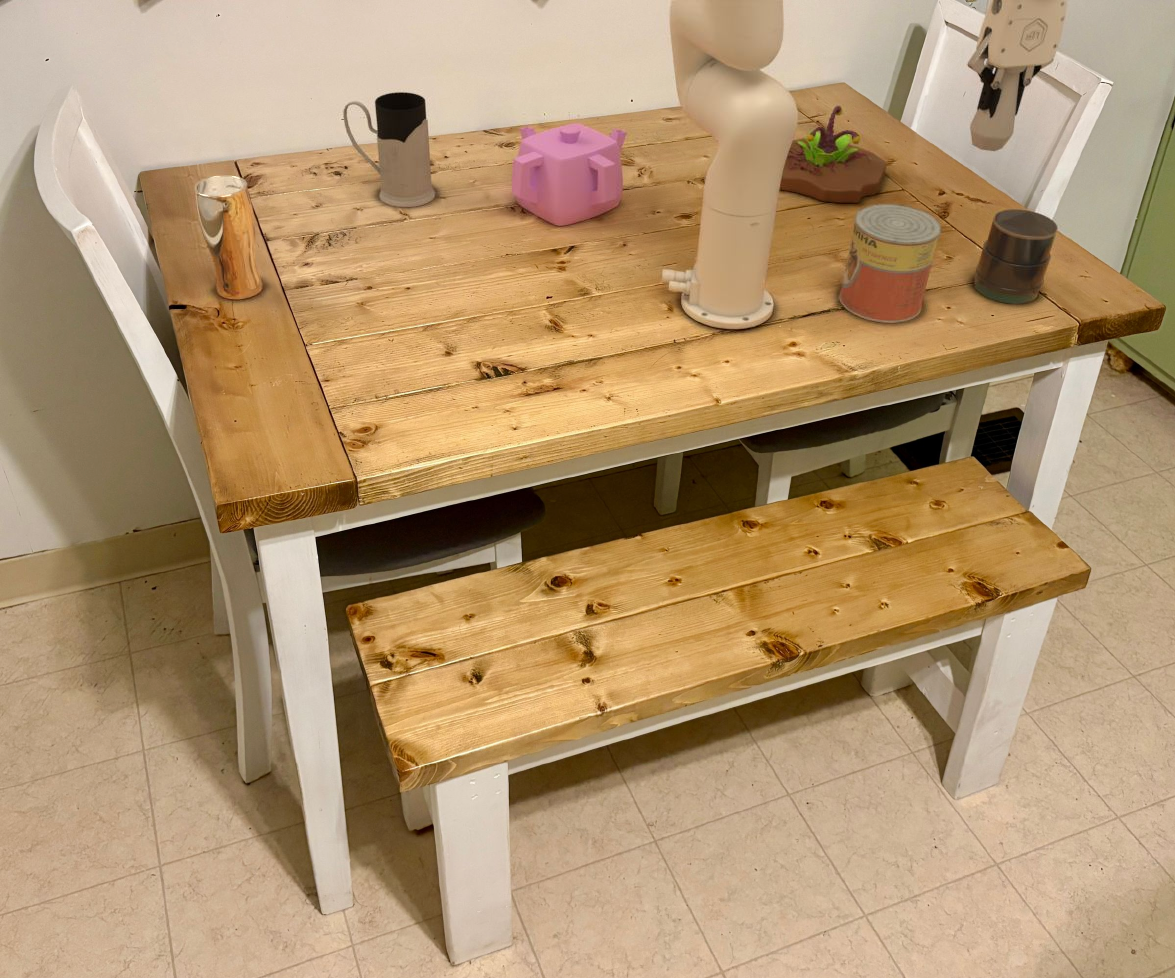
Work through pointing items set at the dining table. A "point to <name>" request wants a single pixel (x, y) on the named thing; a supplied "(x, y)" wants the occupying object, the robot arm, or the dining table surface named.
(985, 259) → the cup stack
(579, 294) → the dining table surface
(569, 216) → the teakettle
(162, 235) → the dining table surface
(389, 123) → the glass holder
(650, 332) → the dining table surface
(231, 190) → the beer glass
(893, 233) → the canned food
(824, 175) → the plant
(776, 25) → the robot arm
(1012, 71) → the salt shaker
